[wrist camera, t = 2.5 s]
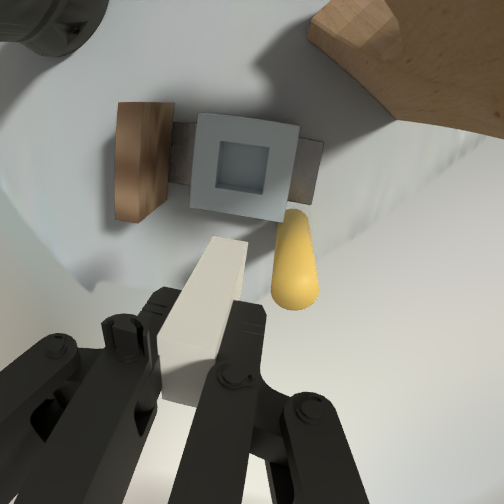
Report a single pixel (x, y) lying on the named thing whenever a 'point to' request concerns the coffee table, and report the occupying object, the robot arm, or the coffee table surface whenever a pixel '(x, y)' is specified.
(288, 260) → the dowel
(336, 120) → the coffee table surface
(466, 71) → the decorative block
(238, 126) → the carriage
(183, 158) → the dark grey flat board
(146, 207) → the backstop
